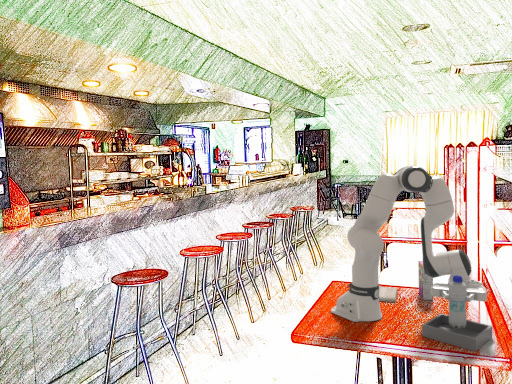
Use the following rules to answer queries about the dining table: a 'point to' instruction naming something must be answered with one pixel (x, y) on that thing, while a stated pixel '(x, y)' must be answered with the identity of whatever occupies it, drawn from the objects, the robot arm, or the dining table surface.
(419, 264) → the candy bar box
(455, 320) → the bottle
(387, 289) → the washcloth
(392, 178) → the robot arm
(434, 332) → the serving tray
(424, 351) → the dining table surface
